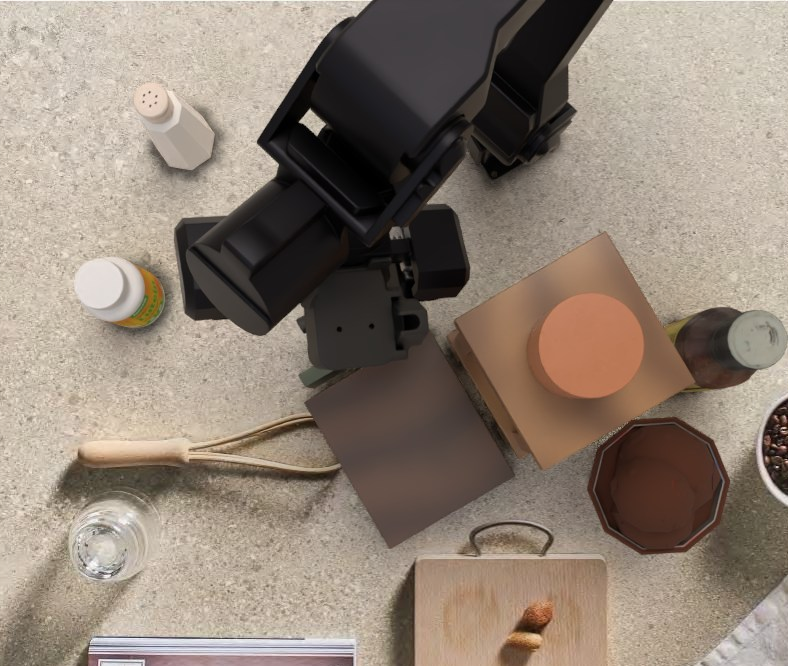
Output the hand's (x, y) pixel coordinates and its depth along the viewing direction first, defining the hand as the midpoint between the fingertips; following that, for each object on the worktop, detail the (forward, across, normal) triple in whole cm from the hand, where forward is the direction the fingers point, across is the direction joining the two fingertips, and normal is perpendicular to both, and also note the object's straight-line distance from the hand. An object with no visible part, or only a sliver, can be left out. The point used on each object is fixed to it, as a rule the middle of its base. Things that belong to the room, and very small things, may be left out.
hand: (305, 308), depth 65 cm
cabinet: (+14, +10, -8) cm, 19 cm away
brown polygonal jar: (+10, +28, -15) cm, 33 cm away
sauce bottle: (+5, +34, -6) cm, 35 cm away
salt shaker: (+12, -5, +22) cm, 25 cm away
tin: (-13, +14, -10) cm, 21 cm away
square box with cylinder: (+9, +21, -4) cm, 23 cm away
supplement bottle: (+17, -11, +9) cm, 22 cm away
